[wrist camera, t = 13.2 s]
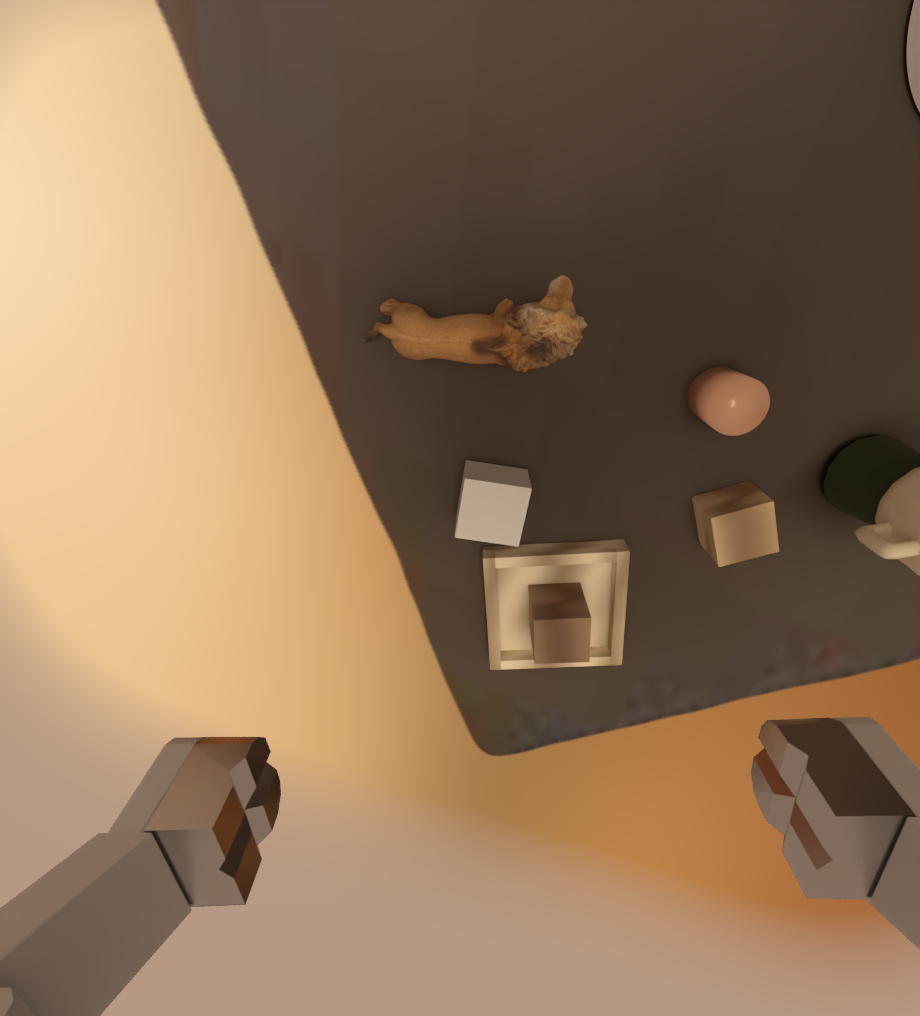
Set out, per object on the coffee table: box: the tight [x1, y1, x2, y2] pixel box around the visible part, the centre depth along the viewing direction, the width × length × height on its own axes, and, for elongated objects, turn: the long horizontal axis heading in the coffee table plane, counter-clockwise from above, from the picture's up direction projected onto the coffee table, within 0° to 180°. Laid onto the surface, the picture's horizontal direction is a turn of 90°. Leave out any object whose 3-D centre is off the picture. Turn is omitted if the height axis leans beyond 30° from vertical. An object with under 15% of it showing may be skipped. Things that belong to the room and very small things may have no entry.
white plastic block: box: [455, 460, 532, 547], centre depth 41 cm, size 5×5×4 cm
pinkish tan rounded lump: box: [687, 366, 770, 436], centre depth 37 cm, size 4×4×4 cm
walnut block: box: [528, 582, 591, 664], centre depth 44 cm, size 4×4×5 cm
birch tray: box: [483, 539, 630, 670], centre depth 46 cm, size 12×12×2 cm
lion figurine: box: [362, 276, 587, 372], centre depth 33 cm, size 15×5×9 cm, turn 98°
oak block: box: [692, 481, 779, 567], centre depth 41 cm, size 4×4×4 cm
